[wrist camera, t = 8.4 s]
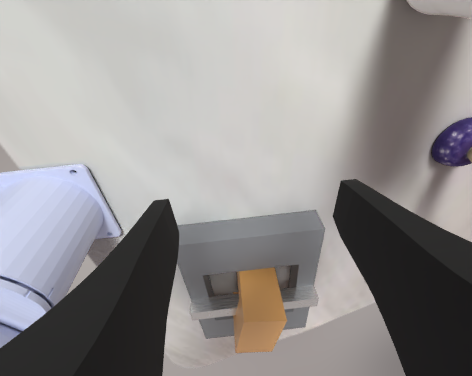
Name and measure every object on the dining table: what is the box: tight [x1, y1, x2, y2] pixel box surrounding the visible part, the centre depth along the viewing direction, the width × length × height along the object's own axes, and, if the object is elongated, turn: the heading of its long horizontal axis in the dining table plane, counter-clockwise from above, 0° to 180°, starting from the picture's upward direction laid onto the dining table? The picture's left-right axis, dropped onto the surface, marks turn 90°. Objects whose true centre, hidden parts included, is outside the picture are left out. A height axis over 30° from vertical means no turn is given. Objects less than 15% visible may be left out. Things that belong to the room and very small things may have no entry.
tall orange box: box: [233, 267, 287, 353], centre depth 26 cm, size 4×7×6 cm, turn 174°
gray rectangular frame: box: [177, 210, 325, 339], centre depth 29 cm, size 14×20×2 cm
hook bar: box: [190, 285, 319, 320], centre depth 27 cm, size 14×2×2 cm, turn 95°
